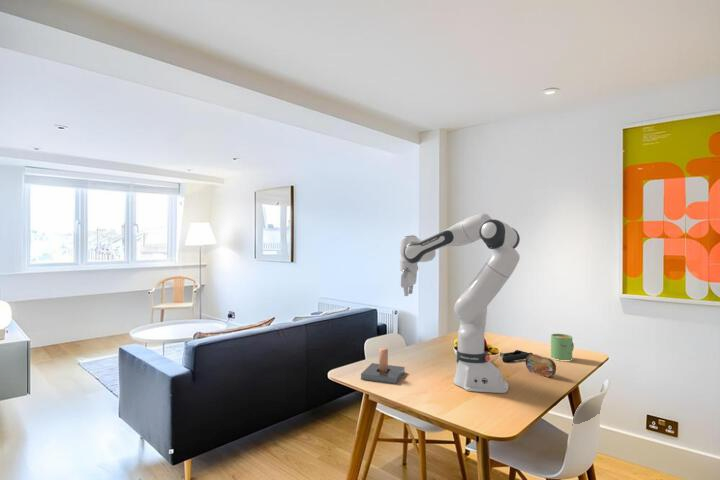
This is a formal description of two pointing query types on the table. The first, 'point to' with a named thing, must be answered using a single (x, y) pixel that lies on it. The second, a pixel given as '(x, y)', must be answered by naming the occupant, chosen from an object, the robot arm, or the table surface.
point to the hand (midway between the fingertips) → (408, 294)
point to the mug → (561, 346)
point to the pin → (383, 360)
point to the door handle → (514, 356)
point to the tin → (540, 365)
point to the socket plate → (383, 374)
